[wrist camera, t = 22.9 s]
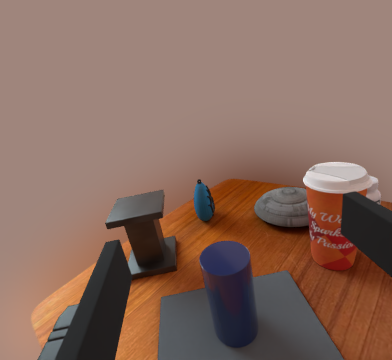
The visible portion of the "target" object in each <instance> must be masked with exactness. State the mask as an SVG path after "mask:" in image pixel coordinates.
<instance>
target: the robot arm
mask: <svg viewBox="0 0 392 360" xmlns="http://www.w3.org/2000/svg"><path fill="white" fill-rule="evenodd" d="M341 234H342V235H343V236H344V237H345V238H347V239H348V240H349V241H350V242H351V243H352V244H354V245H355V246H356V247H357V248H358V249H359V250H361V251H362V252H363V253H364V254H365V255H366V256H368V257H369V258H370V259H371V260H372V261H373V262H375V263H376V264H377V265H378V266H379V267H380V268H382V269H383V270H384V271H385V272H386V273H387V274H389V275H390V276H391V277H392V211H390V210H389V209H387V208H385V207H383V206H381V205H380V204H378V203H376V202H374V201H372V200H371V199H369V198H367V197H365V196H363V195H362V194H360V193H358V192H356V191H354V192H349V193H344V194H343V199H342V216H341ZM131 281H132V274H131V271H130V269H129V266H128V263H127V260H126V257H125V255H124V252H123V249H122V246H121V244H120V241H119V240H114V241H110V242H106V243H105V245H104V248H103V250H102V252H101V254H100V257H99V259H98V261H97V264H96V266H95V268H94V270H93V273H92V275H91V277H90V280H89V282H88V284H87V287H86V289H85V291H84V293H83V296H82V298H81V300H80V303H79V304H77V305H72V306H68V307H67V308H66V310H65V311H64V312H63V313H62V314H61V315H60V316H59V318H58V320H57V322H56V324H55V326H54V328H53V332H51V334H50V336H49V338H48V342H46V344H45V346H44V348H43V350H42V352H41V354H40V356H39V358H38V360H115V356H116V351H117V347H118V342H119V337H120V332H121V328H122V323H123V318H124V314H125V309H126V304H127V300H128V295H129V290H130V286H131Z"/></svg>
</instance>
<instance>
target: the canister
mask: <svg viewBox="0 0 392 360" xmlns="http://www.w3.org/2000/svg"><path fill="white" fill-rule="evenodd" d="M200 266H201V271H202V275H203V280H204V284H205V289H206V294H207V298H208V303H209V307H210V312H211V316H212V321H213V325H214V330H215V333H216V336H217V337H218V339H219V340H220V341H221V342H222V343H224V344H225V345H227V346H230V347H234V348H240V347H244V346H247V345H249V344H250V343H251V342H253V340H254V339H255V338H256V336H257V334H258V329H259V325H258V316H257V308H256V300H255V291H254V283H253V275H252V266H251V258H250V253H249V251H248V249H247V248H246V247H245V246H244V245H242V244H240V243H238V242H234V241H221V242H216V243H214V244H211V245H210V246H208V247H207V248H205V249H204V250H203V252H202V253H201V255H200Z"/></svg>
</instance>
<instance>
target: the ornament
mask: <svg viewBox="0 0 392 360" xmlns="http://www.w3.org/2000/svg"><path fill="white" fill-rule="evenodd" d="M198 181H200V182H198ZM198 181H197V182H198V183H197V185H196V187H195V193H194V207H195V211H196V214H197V216H198V217H199V218H200V219H201V220H202V221H208V220H209V219H210V218H211V217H212V216H213V213H214V211H215V206H214V203H213V202H214V201H213V197H211V193H210V190H209V189H208V187H207V186H205V185H204V184H203V183H202V182H201V180H198Z"/></svg>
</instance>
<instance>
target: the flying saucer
mask: <svg viewBox="0 0 392 360" xmlns="http://www.w3.org/2000/svg"><path fill="white" fill-rule="evenodd" d="M254 210H255V213H256V214H257V216H258V217H260V218H261V219H262V220H264V221H266V222H268V223H271V224H274V225H278V226H285V227H301V226H307V225H309V218H308V205H307V192H306V189H303V188H297V187H283V188H278V189H275V190H272V191H269V192H267V193H265V194H264V195H263V196H262V197H260V198H259V200H258V201H257V202H256V204H255V207H254Z"/></svg>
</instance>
